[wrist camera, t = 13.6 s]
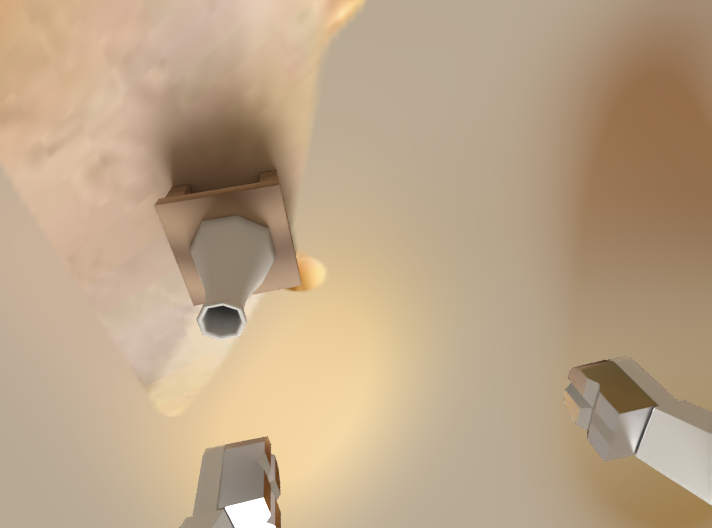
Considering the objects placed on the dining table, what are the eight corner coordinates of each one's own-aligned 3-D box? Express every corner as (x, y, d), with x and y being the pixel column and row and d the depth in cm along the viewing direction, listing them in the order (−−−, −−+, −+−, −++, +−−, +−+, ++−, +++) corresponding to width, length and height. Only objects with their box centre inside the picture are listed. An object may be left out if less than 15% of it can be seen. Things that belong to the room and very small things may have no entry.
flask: (190, 208, 33) (162, 270, 25) (280, 219, 35) (283, 280, 27) (189, 283, 37) (164, 360, 28) (271, 289, 39) (271, 364, 30)
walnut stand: (168, 185, 37) (154, 205, 33) (278, 166, 38) (279, 184, 34) (201, 277, 42) (193, 305, 38) (298, 259, 43) (301, 285, 39)
